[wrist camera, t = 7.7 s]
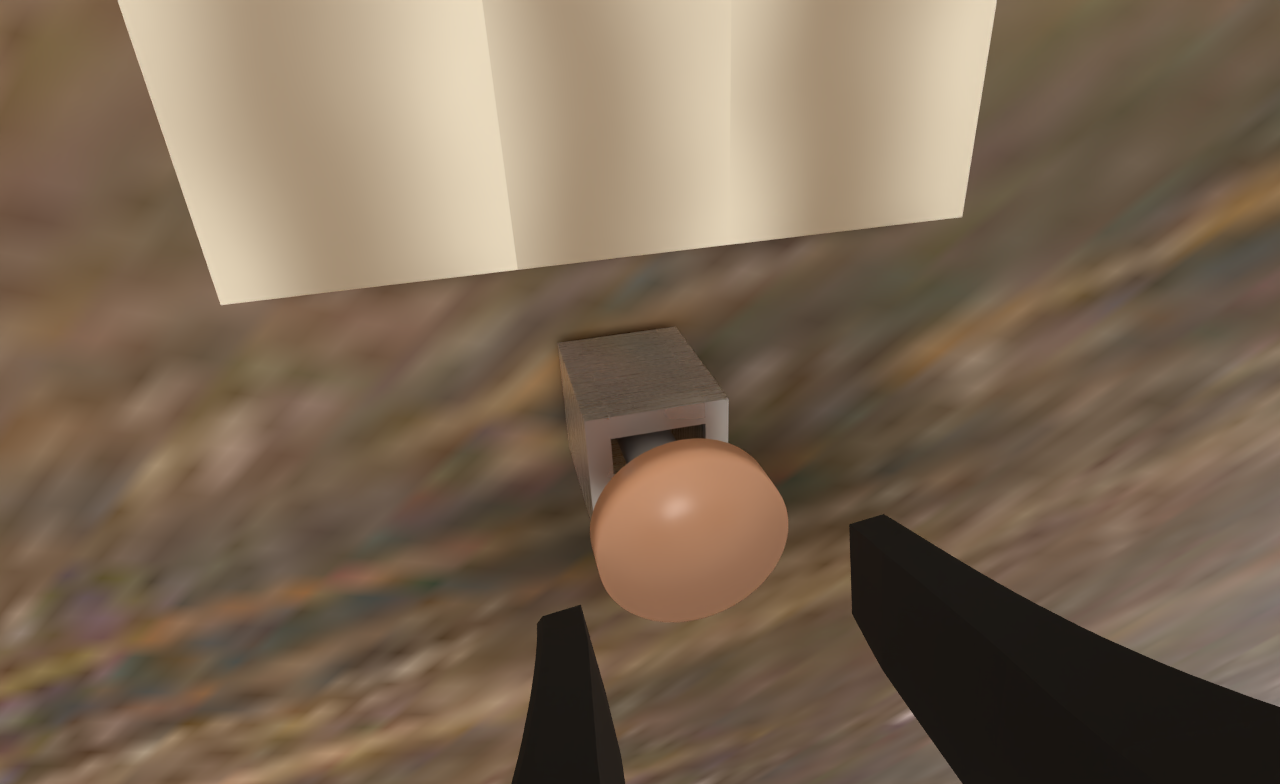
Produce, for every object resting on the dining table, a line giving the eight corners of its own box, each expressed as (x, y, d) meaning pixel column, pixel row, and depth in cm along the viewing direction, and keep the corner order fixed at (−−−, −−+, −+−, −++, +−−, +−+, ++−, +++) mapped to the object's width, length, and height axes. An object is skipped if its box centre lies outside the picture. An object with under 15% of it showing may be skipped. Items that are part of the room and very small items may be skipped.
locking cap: (714, 348, 16) (793, 445, 13) (714, 480, 18) (784, 600, 14) (555, 371, 16) (589, 481, 12) (571, 506, 17) (604, 639, 14)
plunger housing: (675, 326, 18) (728, 398, 15) (678, 428, 20) (727, 516, 16) (557, 343, 18) (584, 421, 14) (568, 446, 19) (595, 541, 16)
